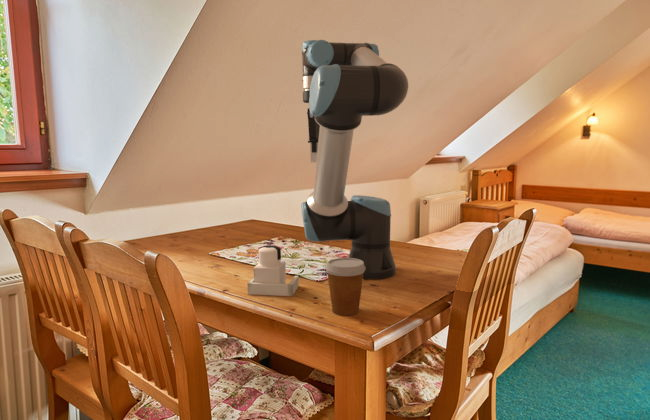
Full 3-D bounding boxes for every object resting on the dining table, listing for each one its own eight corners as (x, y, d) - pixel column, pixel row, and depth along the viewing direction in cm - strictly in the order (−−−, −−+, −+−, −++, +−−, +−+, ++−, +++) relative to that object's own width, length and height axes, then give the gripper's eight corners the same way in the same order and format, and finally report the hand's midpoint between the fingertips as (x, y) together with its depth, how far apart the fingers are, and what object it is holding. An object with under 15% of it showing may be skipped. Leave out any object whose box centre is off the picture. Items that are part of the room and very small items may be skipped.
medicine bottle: (261, 285, 137) (260, 243, 135) (286, 286, 136) (285, 244, 134) (254, 293, 130) (252, 249, 128) (280, 294, 129) (279, 250, 127)
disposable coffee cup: (348, 321, 110) (348, 270, 108) (317, 311, 116) (316, 262, 114) (373, 310, 117) (373, 261, 115) (342, 301, 123) (342, 255, 121)
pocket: (298, 286, 135) (298, 275, 135) (292, 296, 127) (291, 285, 126) (257, 284, 137) (256, 274, 137) (247, 294, 129) (247, 283, 128)
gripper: (306, 92, 167) (307, 161, 170) (298, 88, 154) (300, 163, 158) (328, 91, 166) (328, 161, 169) (322, 88, 153) (322, 163, 157)
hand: (314, 162), depth 163 cm, fingers closed
